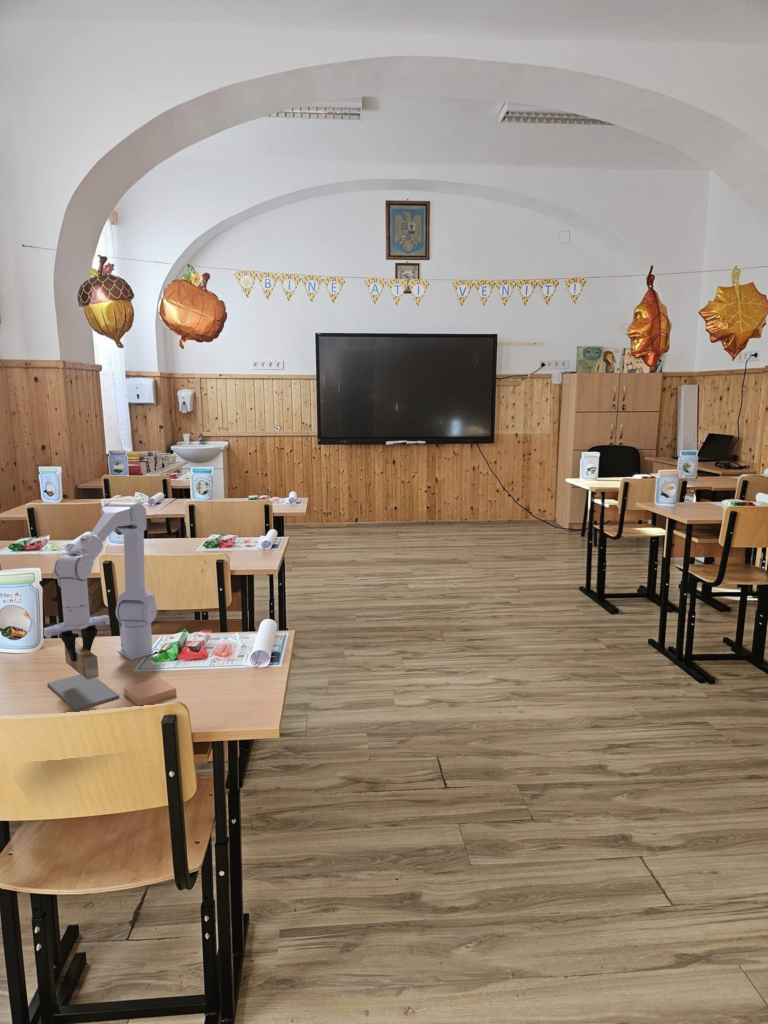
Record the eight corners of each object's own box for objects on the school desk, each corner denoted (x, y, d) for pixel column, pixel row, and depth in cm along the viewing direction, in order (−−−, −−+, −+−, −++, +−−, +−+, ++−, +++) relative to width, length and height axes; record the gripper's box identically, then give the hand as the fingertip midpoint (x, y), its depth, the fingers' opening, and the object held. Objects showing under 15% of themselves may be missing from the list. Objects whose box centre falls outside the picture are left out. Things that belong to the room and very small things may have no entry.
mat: (47, 685, 162) (47, 682, 162) (88, 674, 169) (88, 671, 169) (75, 710, 148) (75, 708, 148) (119, 697, 154) (119, 695, 154)
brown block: (65, 662, 161) (64, 643, 161) (76, 660, 163) (75, 641, 162) (87, 679, 151) (85, 659, 150) (98, 676, 153) (97, 656, 152)
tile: (123, 687, 156) (139, 699, 149) (159, 677, 162) (175, 688, 156) (124, 696, 156) (139, 708, 150) (159, 685, 162) (176, 696, 156)
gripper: (48, 614, 147) (53, 671, 149) (112, 601, 157) (116, 655, 159) (39, 608, 152) (43, 663, 154) (101, 596, 162) (105, 647, 164)
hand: (80, 658), depth 157 cm, fingers closed on brown block, 2 cm apart
